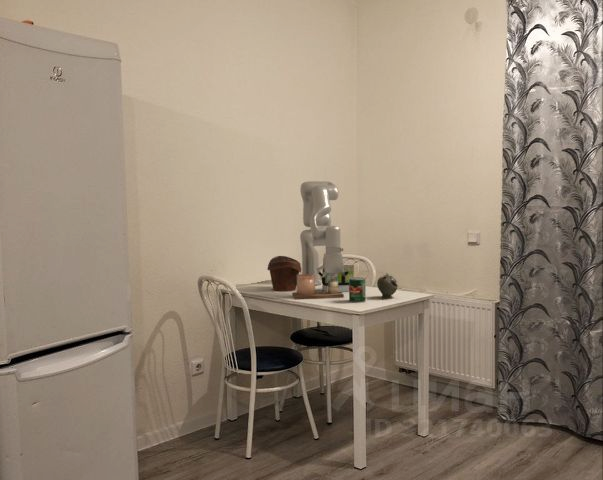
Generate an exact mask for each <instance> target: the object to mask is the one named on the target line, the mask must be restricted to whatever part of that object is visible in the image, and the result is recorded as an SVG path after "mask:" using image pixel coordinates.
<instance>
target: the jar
mask: <svg viewBox="0 0 603 480" xmlns="http://www.w3.org/2000/svg"><path fill="white" fill-rule="evenodd" d="M296 292H297V295H314V294H315V292H316V285H315V275H313V274H302V273H299V275H297V287H296Z"/></svg>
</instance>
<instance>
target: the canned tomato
mask: <svg viewBox="0 0 603 480" xmlns="http://www.w3.org/2000/svg"><path fill="white" fill-rule="evenodd" d="M348 298H349V299H348V300H349V302H350V303H355V304H356V303H358V304H359V303H366V278H365V277H357V276H354V277H353V278H349V292H348Z"/></svg>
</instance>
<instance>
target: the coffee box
mask: <svg viewBox="0 0 603 480" xmlns="http://www.w3.org/2000/svg"><path fill="white" fill-rule="evenodd" d="M343 265H345V266H347V267H349V268H350V270H349V272H348V274H347V275H346V277H345V283H344V285H342V284H341V277H342V275H341V273H334V274H326V275H325V285H323V284H322V283H321V286H322V288H321V289H322V291H328V281H331V279H336V281H338V291H339V292H341V293H349V278H353V277H355V265H354V264H352V263H350V262H343ZM346 270H347V269H346V268H344V271H343V272H344V273H345V272H346Z"/></svg>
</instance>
